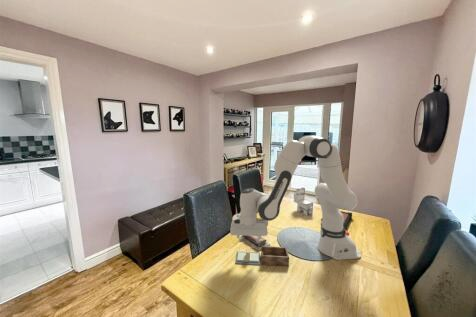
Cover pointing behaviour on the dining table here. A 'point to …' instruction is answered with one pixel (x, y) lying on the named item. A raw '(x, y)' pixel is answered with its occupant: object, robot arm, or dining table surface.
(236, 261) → the mat
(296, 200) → the toy llama
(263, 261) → the box
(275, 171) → the robot arm
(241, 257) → the lid
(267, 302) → the dining table surface
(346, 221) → the book
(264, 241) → the packaged product
